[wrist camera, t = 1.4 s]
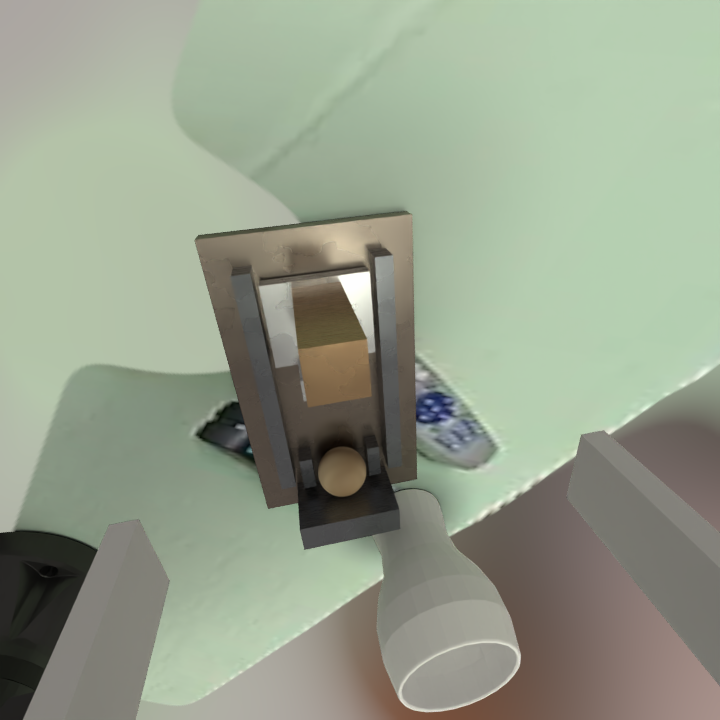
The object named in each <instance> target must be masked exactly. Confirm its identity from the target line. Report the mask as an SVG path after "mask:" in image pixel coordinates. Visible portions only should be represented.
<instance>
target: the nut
mask: <svg viewBox="0 0 720 720" xmlns="http://www.w3.org/2000/svg"><path fill="white" fill-rule="evenodd" d="M318 477H319V481H320V483H321V485H322V487H323V488H324V489H325V490H326V491H327V492H328V493H330V494H332V495H334V496H339V497H345V496H349V495H352V494H354V493H355V492H357V491H358V490H359V489H360V488H361V486H362V485H363V483H364V481H365V477H366V465H365V462H364V460H363V458H362V456H361V455H360V454H359V453H358V452H357V451H355V450H354V449H352V448H349V447H336V448H333V449H331V450H329V451H328V452H327V453H326V454H325V455H324V456H323V457H322V459H321V460H320V463H319V466H318Z"/></svg>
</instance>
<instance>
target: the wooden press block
mask: <svg viewBox="0 0 720 720" xmlns="http://www.w3.org/2000/svg"><path fill="white" fill-rule="evenodd" d="M259 290H260V295H261V300H262V304H263V309H264V314H265V319H266V323H267V328H268V333H269V338H270V342H271V347H272V352H273V357H274V361H275V366H276V368H279V367H285V366H292V365H298V364H299V374H300V383H301V388H302V394H303V400H304V401H307V405H308V407H313V406H319V405H325V404H331V403H337V402H343V401H348V400H354V399H360V398H366V397H372V393H371V381H370V368H369V356H368V353H374V352H375V339H374V325H373V311H372V297H371V282H370V271H369V270H368V268H367V267H360V268H352V269H345V270H337V271H330V272H322V273H314V274H307V275H299V276H292V277H284V278H277V279H269V280H262V281H259Z"/></svg>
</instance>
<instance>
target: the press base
mask: <svg viewBox="0 0 720 720" xmlns="http://www.w3.org/2000/svg"><path fill="white" fill-rule="evenodd" d="M195 244H196V247H197V251H198V255H199V258H200V262H201V265H202V269H203V272H204V276H205V280H206V284H207V287H208V291H209V295H210V298H211V302H212V305H213V309H214V313H215V317H216V320H217V324H218V327H219V331H220V335H221V338H222V342H223V346H224V349H225V353H226V357H227V360H228V364H229V368H230V371H231V375H232V379H233V382H234V386H235V390H236V393H237V397H238V400H239V404H240V408H241V411H242V415H243V419H244V422H245V426H246V430H247V433H248V437H249V441H250V444H251V448H252V452H253V455H254V459H255V462H256V466H257V470H258V473H259V477H260V481H261V484H262V488H263V492H264V495H265V499H266V503H267V506H268V509H270V508H275V507H280V506H285V505H290V504H295V503H298V506H299V522H300V532H301V536H302V541H303V545H304V550H306V549H310V548H315V547H320V546H324V545H329V544H334V543H338V542H343V541H348V540H352V539H357V538H362V537H366V536H371V535H376V534H380V533H385V532H390V531H394V530H399V529H400V511H399V506H398V504H397V501H396V498H395V495H394V492H393V489H392V486H391V484H395V483H400V482H405V481H410V480H415V479H417V452H416V396H415V340H414V285H413V229H412V214H411V213H409V212H407V211H401V212H393V213H384V214H376V215H367V216H359V217H350V218H342V219H333V220H325V221H316V222H307V223H299V224H291V225H282V226H273V227H265V228H257V229H249V230H239V231H231V232H223V233H214V234H205V235H198V236H197V238H196V239H195ZM360 267H367V268H368V270H369V271H370V282H371V297H372V311H373V325H374V339H375V352H374V353H368V356H369V368H370V381H371V393H372V397H366V398H360V399H354V400H348V401H343V402H337V403H331V404H325V405H319V406H313V407H308V405H307V401H304V400H303V394H302V388H301V383H300V374H299V364H298V365H292V366H285V367H279V368H276V366H275V361H274V357H273V352H272V347H271V342H270V338H269V333H268V328H267V323H266V319H265V314H264V309H263V304H262V300H261V295H260V290H259V281H262V280H269V279H277V278H284V277H292V276H299V275H307V274H314V273H322V272H330V271H337V270H345V269H352V268H360ZM336 447H349V448H352V449H354V450H355V451H357V452H358V453H359V454H360V455H361V456H362V458H363V460H364V462H365V465H366V477H365V481H364V483H363V485H362V486H361V488H360V489H359V490H358V491H357V492H355V493H354V494H352V495H349V496H345V497H339V496H334V495H332V494H330V493H328V492H327V491H326V490H325V489H324V488H323V487H322V485H321V483H320V481H319V477H318V466H319V463H320V460H321V459H322V457H323V456H324V455H325V454H326V453H327V452H328V451H329V450H331V449H333V448H336Z"/></svg>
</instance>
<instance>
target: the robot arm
mask: <svg viewBox="0 0 720 720" xmlns="http://www.w3.org/2000/svg"><path fill="white" fill-rule="evenodd" d="M567 499H568V500H569V501H570V503H571V504H572V505H573V506H574V508H575V509H576V510H577V511H578V513H579V514H580V515H581V516H582V517H583V519H584V520H585V521H586V522H587V524H588V525H589V526H590V527H591V529H592V530H593V531H594V532H595V533H596V535H597V536H598V537H599V538H600V540H601V541H602V542H603V543H604V544H605V546H606V547H607V548H608V549H609V551H610V552H611V553H612V554H613V556H614V557H615V558H616V559H617V560H618V562H619V563H620V564H621V565H622V567H623V568H624V569H625V570H626V572H627V573H628V574H629V575H630V576H631V578H632V579H633V580H634V581H635V583H636V584H637V585H638V586H639V587H640V589H641V590H642V591H643V592H644V594H645V595H646V596H647V597H648V598H649V600H650V601H651V602H652V603H653V605H654V606H655V607H656V608H657V610H658V611H659V612H660V613H661V614H662V616H663V617H664V618H665V619H666V621H667V622H668V623H669V624H670V625H671V627H672V628H673V629H674V630H675V632H676V633H677V634H678V635H679V637H680V638H681V639H682V640H683V641H684V643H685V644H686V645H687V646H688V648H689V649H690V650H691V651H692V653H693V654H694V655H695V656H696V657H697V659H698V660H699V661H700V662H701V664H702V665H703V666H704V667H705V668H706V670H707V671H708V672H709V673H710V675H711V676H712V677H713V678H714V680H715V681H716V682H717V683H718V684H719V686H720V532H719V531H717V530H716V529H715V528H714V527H713V526H712V525H711V524H709V523H708V522H707V521H706V520H705V519H703V517H701V516H700V515H699V514H698V513H697V512H696V511H694V509H692V508H691V507H690V506H689V505H688V504H687V503H686V502H684V501H683V500H682V499H681V498H680V497H679V496H678V495H676V494H675V493H674V492H673V491H672V490H671V489H670V488H668V487H667V486H666V485H665V484H664V483H663V482H662V481H661V480H659V479H658V478H657V477H656V476H655V475H654V474H653V473H651V472H650V471H649V470H648V469H647V468H646V467H645V466H644V465H642V464H641V463H640V462H639V461H638V460H637V459H636V458H634V457H633V456H632V455H631V454H630V453H629V452H628V451H627V450H625V449H624V448H623V447H622V446H621V445H620V444H619V443H617V442H616V441H615V440H614V439H613V438H612V437H611V436H610V435H608V434H607V433H606V432H605V431H604V430H603V431H598V432H592V433H587V434H582V435H581V438H580V442H579V446H578V450H577V454H576V459H575V463H574V467H573V471H572V476H571V480H570V484H569V489H568V493H567ZM169 582H170V580H169V578H168V576H167V574H166V572H165V570H164V568H163V566H162V564H161V562H160V561H159V559H158V557H157V555H156V553H155V551H154V549H153V547H152V545H151V543H150V541H149V539H148V537H147V535H146V533H145V531H144V529H143V527H142V525H141V523H140V521H139V519H137V520H132V521H127V522H122V523H116V524H111V525H109V526H108V528H107V531H106V533H105V535H104V537H103V540H102V542H101V544H100V547H99V549H98V551H97V552H96V551H95V550H93V549H91V548H89V547H87V546H85V545H83V544H81V543H78V542H76V541H73V540H70V539H67V538H63V537H59V536H55V535H50V534H43V533H35V532H5V533H0V720H135V719H136V715H137V711H138V707H139V703H140V699H141V695H142V691H143V687H144V683H145V679H146V675H147V671H148V667H149V663H150V659H151V655H152V651H153V647H154V643H155V639H156V635H157V630H158V626H159V622H160V618H161V614H162V610H163V606H164V602H165V598H166V594H167V590H168V586H169Z"/></svg>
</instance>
